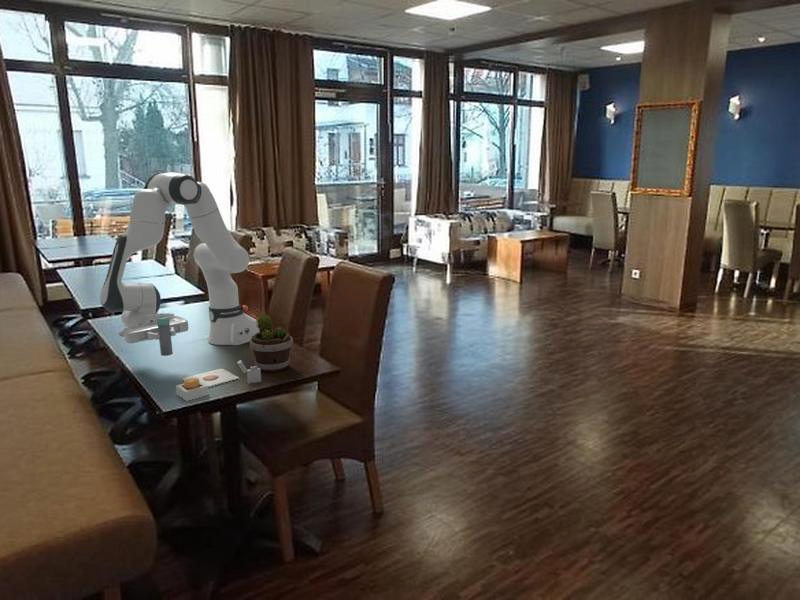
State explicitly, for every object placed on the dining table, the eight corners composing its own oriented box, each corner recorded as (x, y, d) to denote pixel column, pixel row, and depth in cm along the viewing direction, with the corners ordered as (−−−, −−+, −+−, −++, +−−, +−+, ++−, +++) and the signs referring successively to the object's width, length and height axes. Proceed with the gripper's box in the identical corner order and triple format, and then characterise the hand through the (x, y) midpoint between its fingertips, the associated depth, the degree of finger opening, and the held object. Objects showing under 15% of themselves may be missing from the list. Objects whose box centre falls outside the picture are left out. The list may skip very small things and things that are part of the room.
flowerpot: (303, 367, 203) (301, 312, 198) (264, 378, 193) (261, 320, 188) (279, 357, 213) (277, 304, 209) (242, 367, 203) (238, 312, 198)
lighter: (259, 379, 192) (258, 356, 190) (261, 381, 190) (260, 358, 188) (238, 383, 188) (236, 360, 186) (239, 385, 187) (238, 361, 185)
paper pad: (221, 370, 200) (221, 368, 200) (239, 379, 192) (239, 377, 192) (182, 380, 191) (181, 378, 191) (198, 390, 183) (198, 388, 182)
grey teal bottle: (170, 351, 193) (166, 316, 190) (175, 353, 190) (171, 318, 187) (158, 353, 190) (154, 318, 187) (163, 356, 187) (159, 321, 184)
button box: (198, 388, 184) (197, 379, 183) (208, 395, 179) (207, 385, 178) (176, 394, 179) (175, 385, 178) (186, 401, 174) (185, 391, 174)
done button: (195, 383, 182) (195, 377, 181) (202, 387, 178) (201, 380, 178) (181, 386, 179) (181, 380, 178) (188, 390, 175) (187, 384, 175)
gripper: (115, 324, 190) (131, 333, 180) (176, 311, 203) (194, 319, 194) (117, 342, 191) (134, 352, 181) (178, 329, 205) (196, 337, 195)
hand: (165, 335), depth 188 cm, fingers closed on grey teal bottle, 4 cm apart
